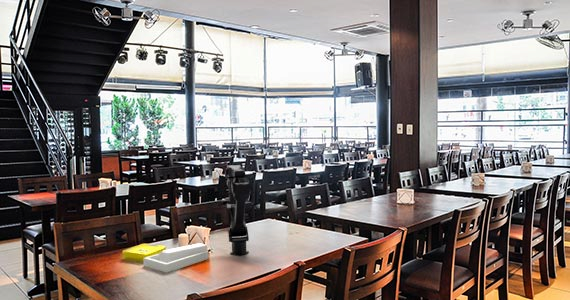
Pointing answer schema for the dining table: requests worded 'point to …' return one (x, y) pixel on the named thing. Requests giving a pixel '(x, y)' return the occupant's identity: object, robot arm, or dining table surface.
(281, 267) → the dining table surface
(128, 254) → the element tile
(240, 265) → the dining table surface
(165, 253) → the milk
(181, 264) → the u rest
